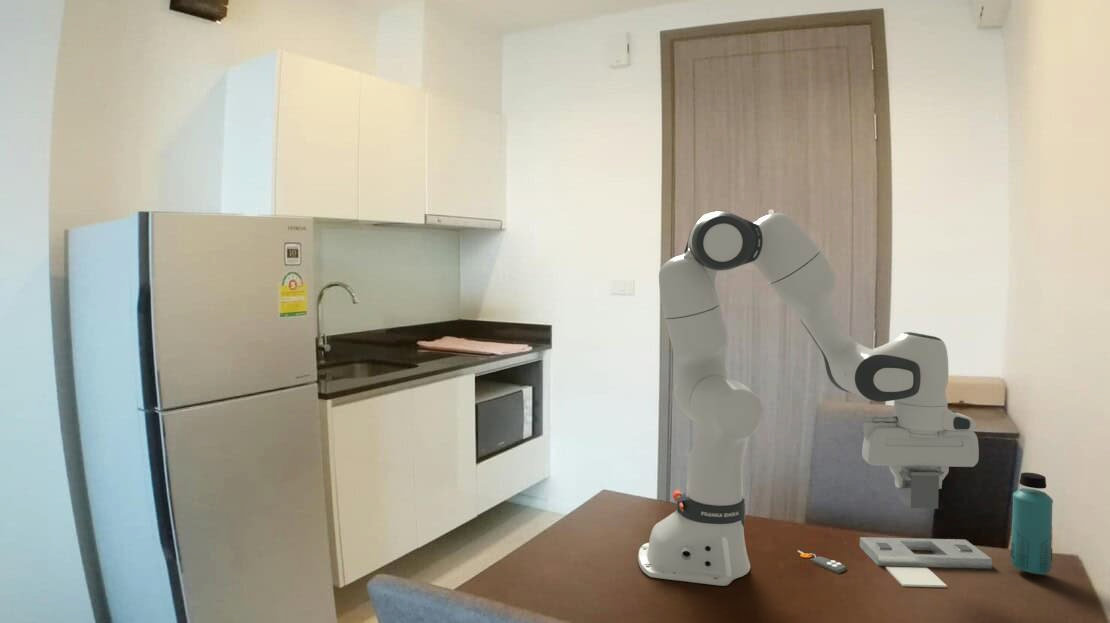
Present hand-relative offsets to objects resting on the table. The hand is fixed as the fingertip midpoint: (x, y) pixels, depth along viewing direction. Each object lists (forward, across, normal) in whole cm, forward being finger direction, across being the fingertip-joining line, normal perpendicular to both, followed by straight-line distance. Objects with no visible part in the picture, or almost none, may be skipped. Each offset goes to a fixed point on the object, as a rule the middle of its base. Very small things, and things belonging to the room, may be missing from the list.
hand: (918, 487), depth 120 cm
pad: (+18, 0, 0) cm, 18 cm away
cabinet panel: (+18, +6, +9) cm, 21 cm away
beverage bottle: (+18, +23, +3) cm, 29 cm away
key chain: (+19, -17, +7) cm, 26 cm away
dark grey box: (+3, 0, 0) cm, 3 cm away
